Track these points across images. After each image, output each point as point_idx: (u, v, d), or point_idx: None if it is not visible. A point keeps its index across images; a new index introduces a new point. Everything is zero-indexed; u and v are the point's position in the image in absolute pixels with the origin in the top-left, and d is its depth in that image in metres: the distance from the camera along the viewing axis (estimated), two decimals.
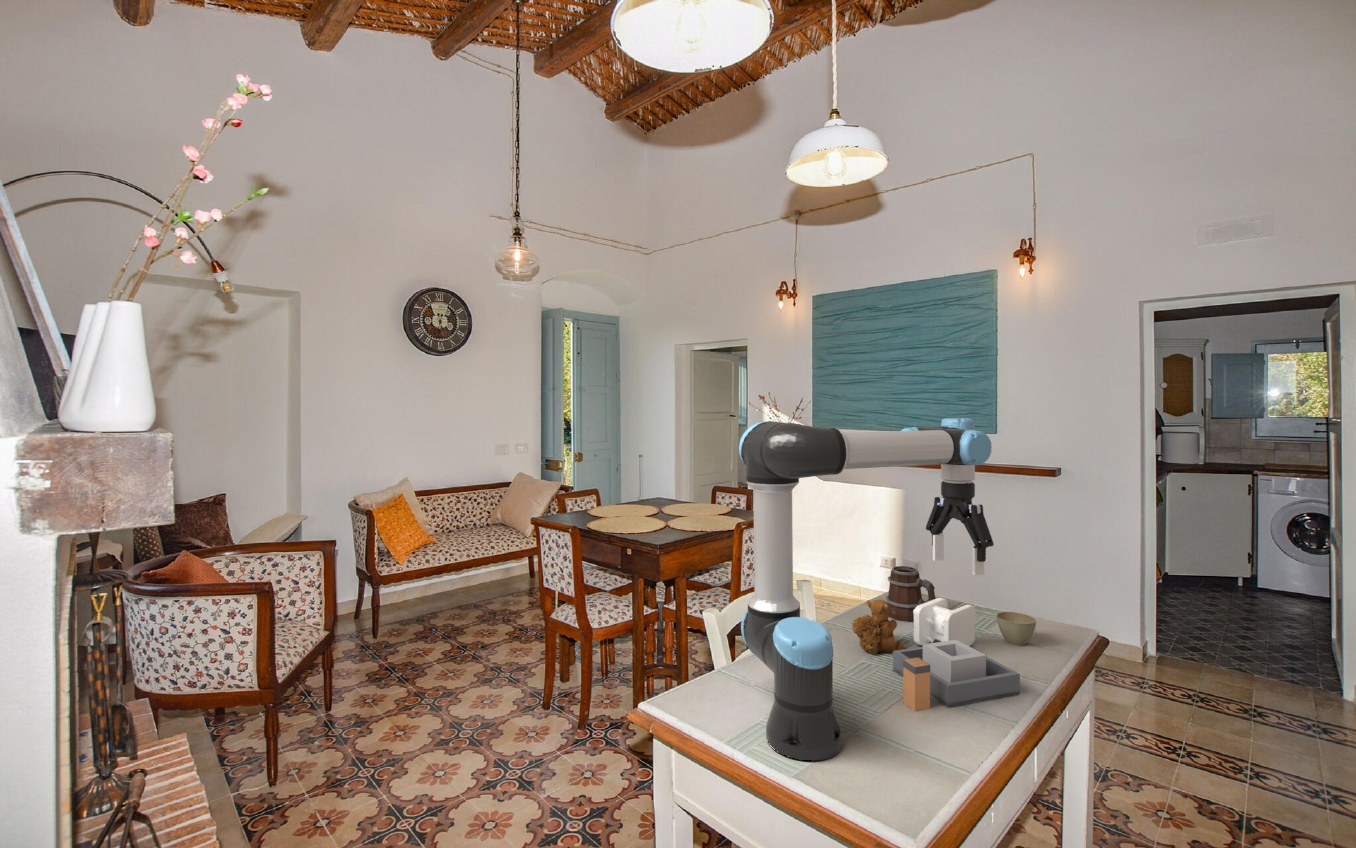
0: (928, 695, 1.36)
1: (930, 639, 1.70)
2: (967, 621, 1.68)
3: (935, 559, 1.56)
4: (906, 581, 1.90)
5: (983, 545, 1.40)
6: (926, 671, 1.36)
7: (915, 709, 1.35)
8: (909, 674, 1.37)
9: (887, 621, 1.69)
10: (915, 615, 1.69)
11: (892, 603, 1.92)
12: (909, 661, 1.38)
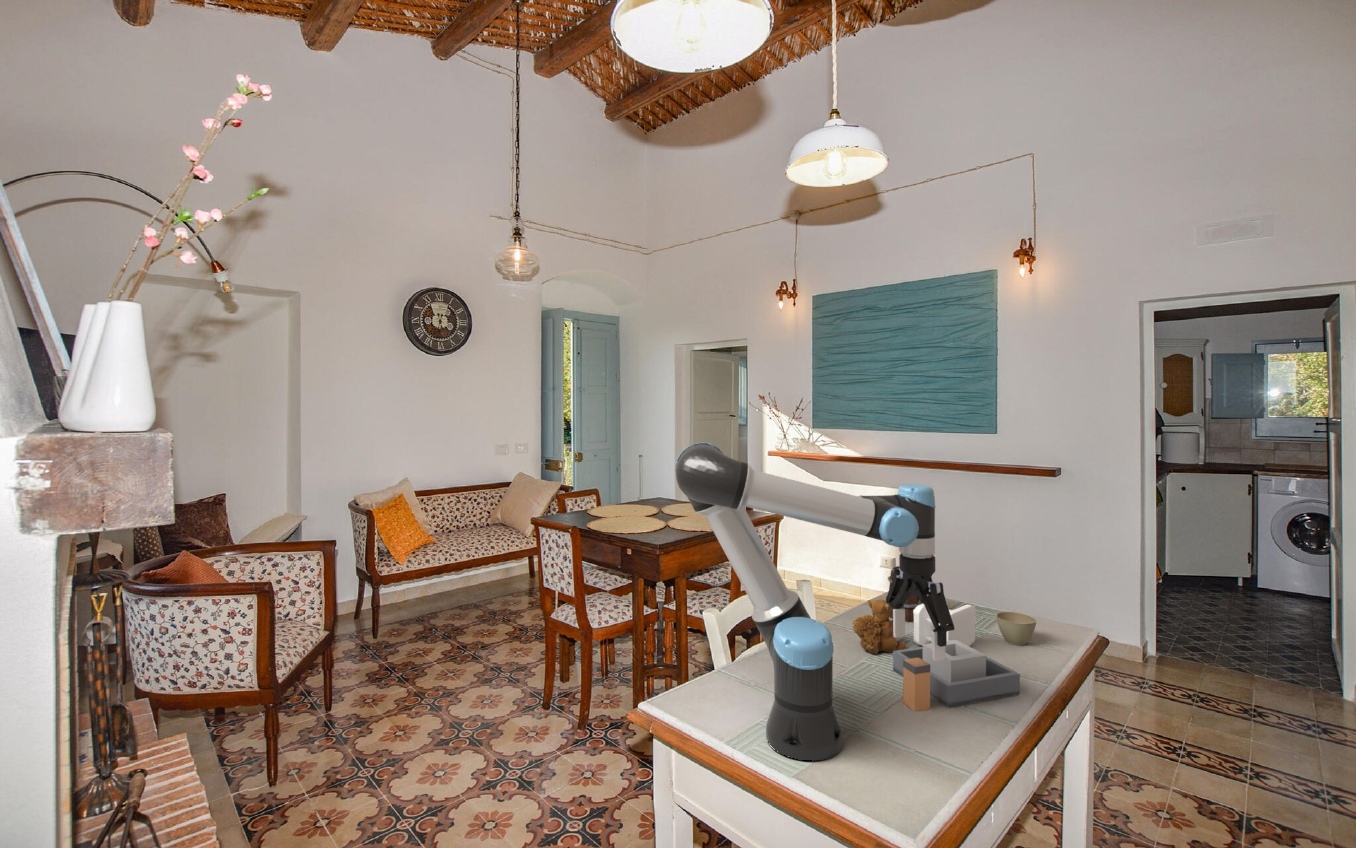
0: (928, 695, 1.36)
1: (930, 639, 1.70)
2: (967, 621, 1.68)
3: (896, 636, 1.43)
4: None
5: (943, 630, 1.27)
6: (926, 671, 1.36)
7: (915, 709, 1.35)
8: (909, 674, 1.37)
9: (888, 621, 1.69)
10: (915, 615, 1.69)
11: None
12: (909, 661, 1.38)
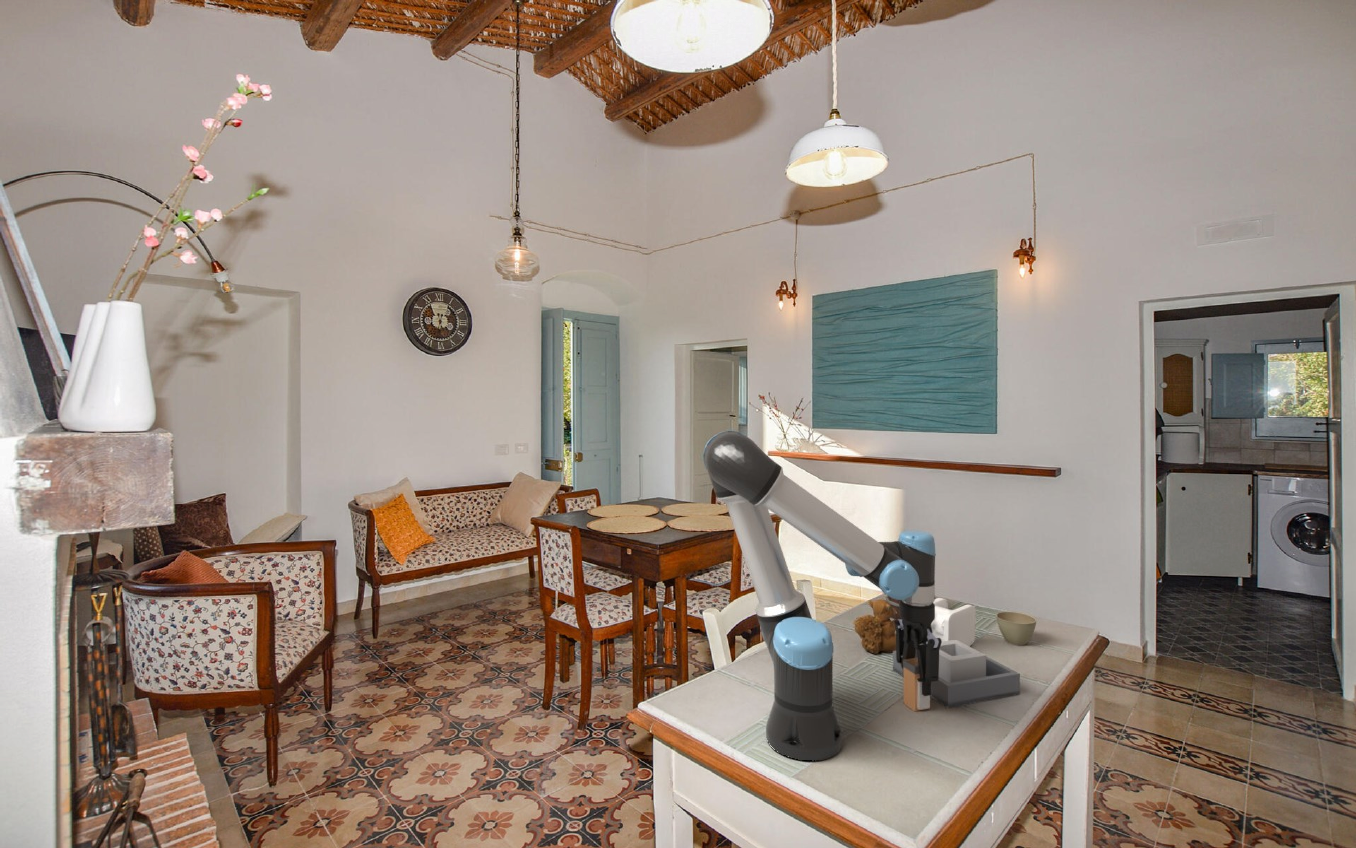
0: None
1: None
2: (967, 621, 1.68)
3: None
4: None
5: (927, 680, 1.32)
6: None
7: (915, 709, 1.35)
8: (909, 674, 1.37)
9: (889, 621, 1.69)
10: None
11: (892, 603, 1.92)
12: (909, 661, 1.38)
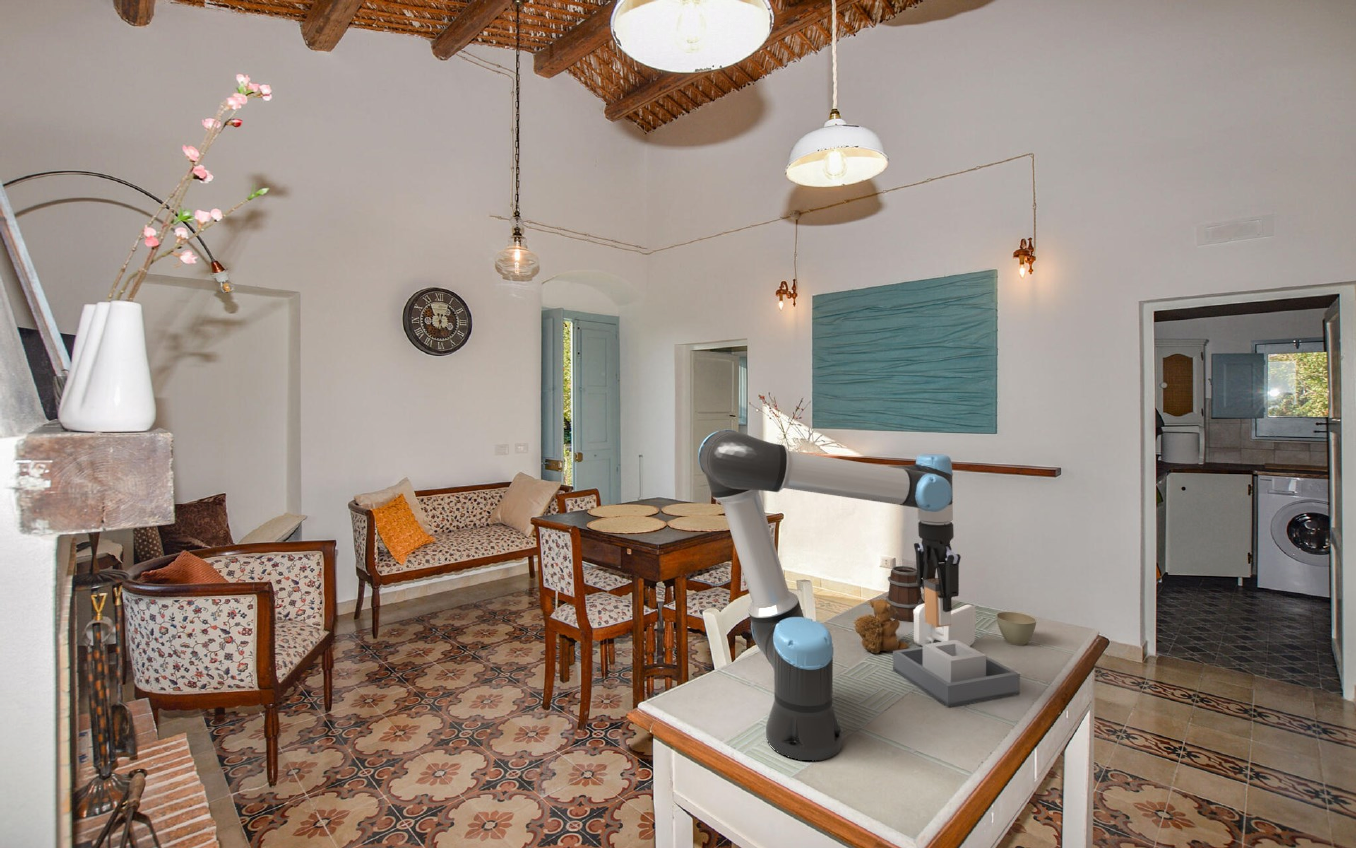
0: None
1: (930, 639, 1.70)
2: (967, 621, 1.68)
3: None
4: (906, 581, 1.90)
5: (947, 596, 1.36)
6: None
7: (937, 626, 1.40)
8: (930, 592, 1.41)
9: (890, 621, 1.69)
10: (915, 615, 1.69)
11: (892, 603, 1.92)
12: (929, 580, 1.42)
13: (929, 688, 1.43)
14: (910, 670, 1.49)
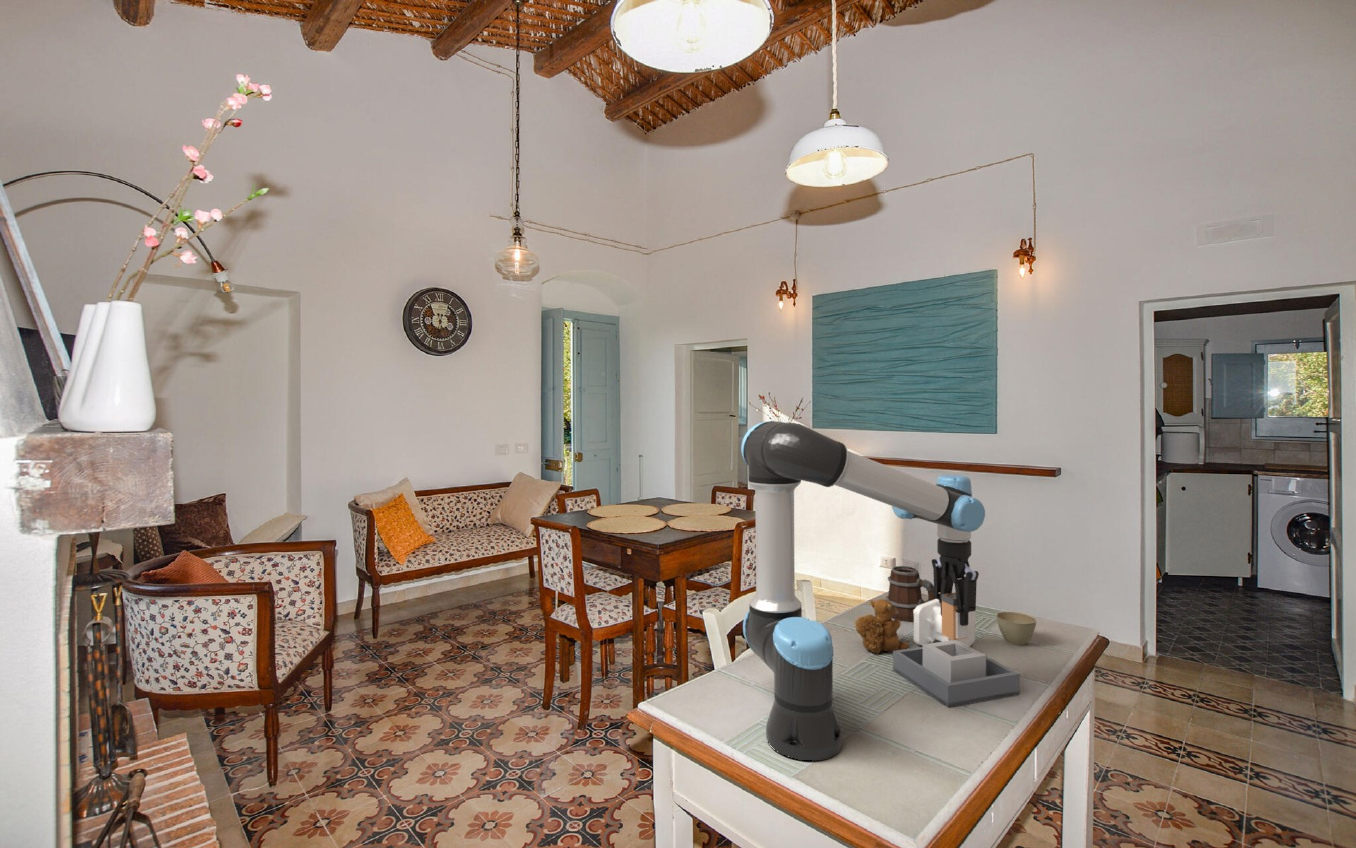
0: None
1: (930, 639, 1.70)
2: None
3: None
4: (906, 581, 1.90)
5: (965, 610, 1.43)
6: None
7: (954, 639, 1.46)
8: (948, 606, 1.48)
9: (890, 621, 1.69)
10: (915, 615, 1.69)
11: (892, 603, 1.92)
12: (947, 595, 1.49)
13: (929, 688, 1.43)
14: (910, 670, 1.49)
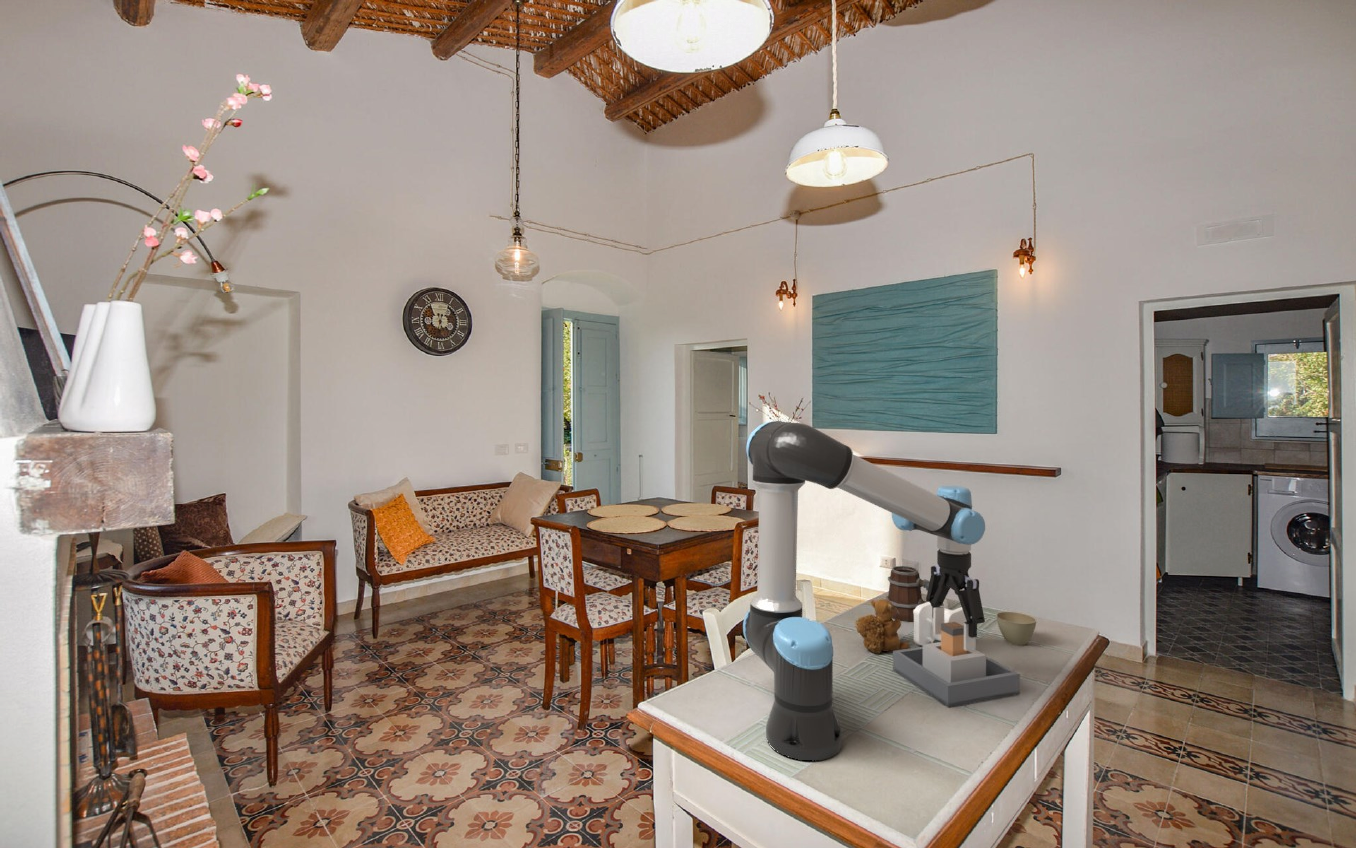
0: None
1: (930, 639, 1.70)
2: None
3: (935, 632, 1.53)
4: (906, 581, 1.90)
5: (974, 622, 1.40)
6: (963, 633, 1.47)
7: None
8: (947, 636, 1.48)
9: (891, 621, 1.69)
10: (915, 615, 1.69)
11: (892, 603, 1.92)
12: (946, 624, 1.49)
13: (929, 688, 1.43)
14: (910, 670, 1.49)
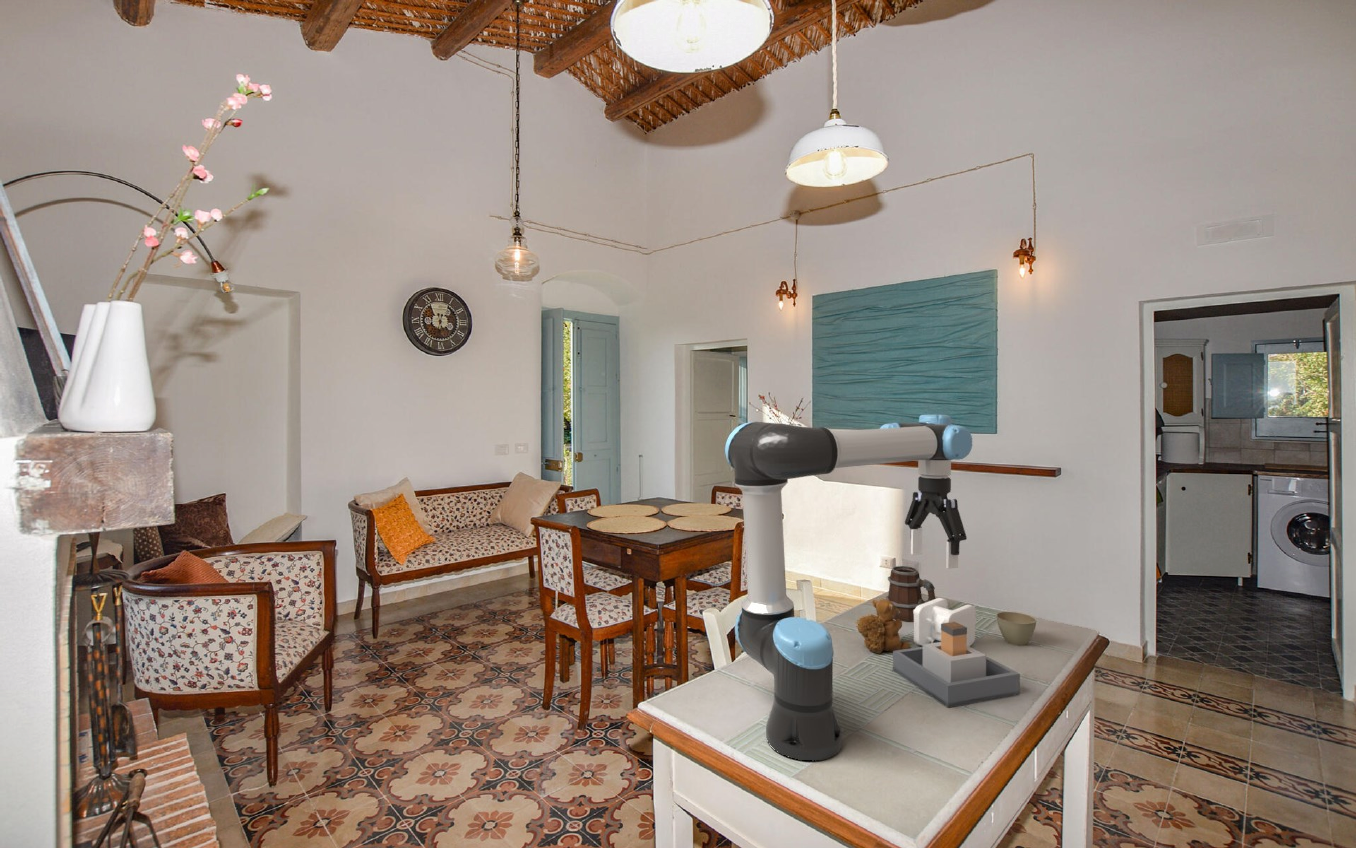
0: None
1: (930, 639, 1.70)
2: (967, 621, 1.68)
3: (913, 553, 1.59)
4: (906, 581, 1.90)
5: (956, 539, 1.43)
6: (963, 633, 1.47)
7: None
8: (947, 636, 1.48)
9: (892, 621, 1.69)
10: (915, 615, 1.69)
11: None
12: (946, 624, 1.49)
13: (929, 688, 1.43)
14: (910, 670, 1.49)
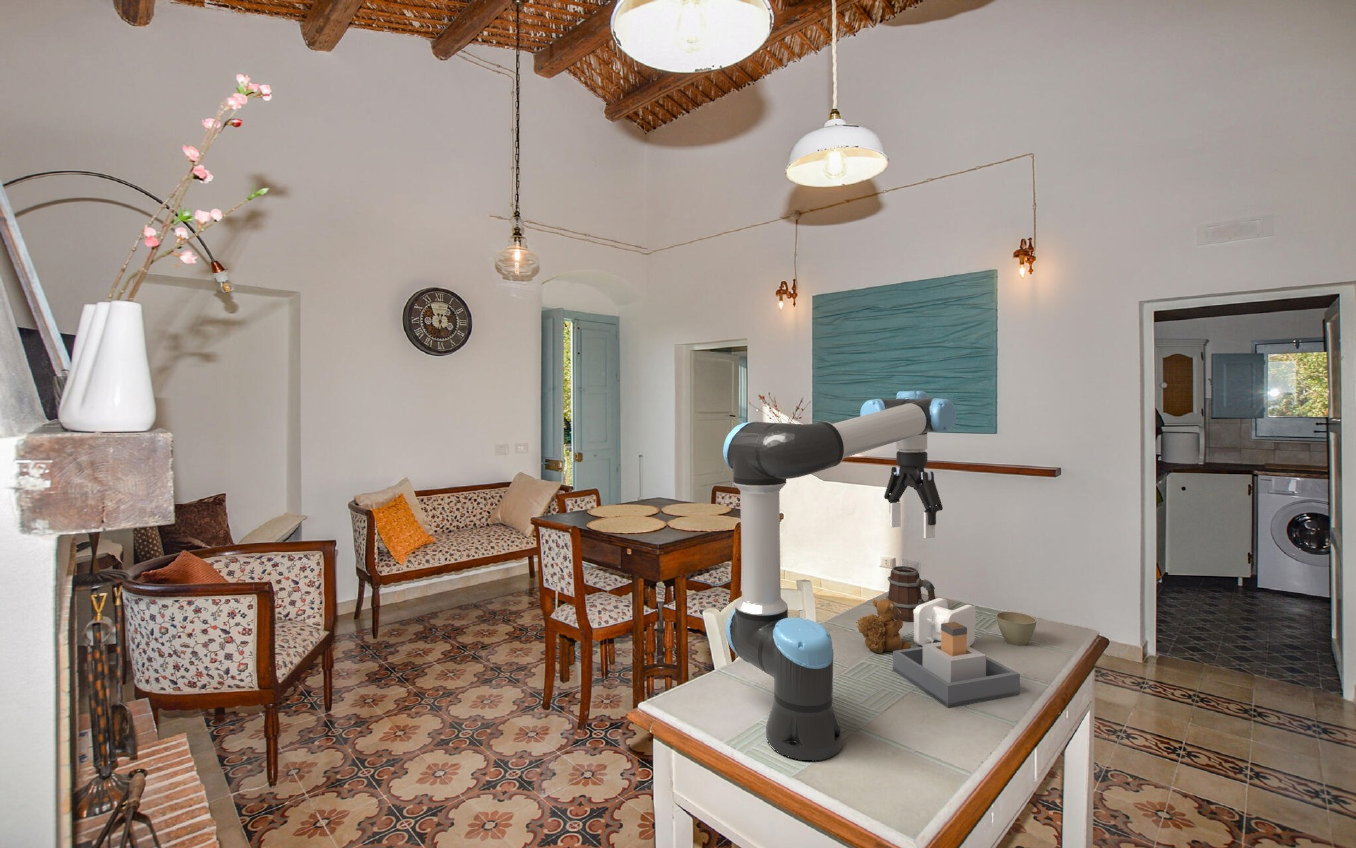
0: None
1: (930, 639, 1.70)
2: (967, 621, 1.68)
3: (892, 526, 1.64)
4: (906, 581, 1.90)
5: (933, 509, 1.48)
6: (963, 633, 1.47)
7: None
8: (947, 636, 1.48)
9: (893, 621, 1.69)
10: (915, 615, 1.69)
11: None
12: (946, 624, 1.49)
13: (929, 688, 1.43)
14: (910, 670, 1.49)
